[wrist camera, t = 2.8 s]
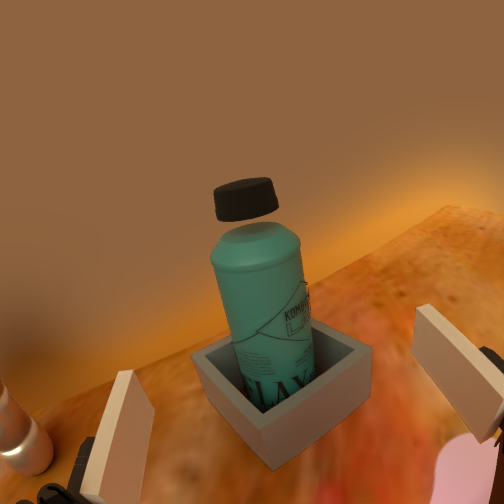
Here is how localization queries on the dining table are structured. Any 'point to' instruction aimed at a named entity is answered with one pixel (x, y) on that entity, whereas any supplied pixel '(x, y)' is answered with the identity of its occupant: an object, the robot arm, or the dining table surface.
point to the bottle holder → (296, 406)
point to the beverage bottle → (263, 294)
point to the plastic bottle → (22, 438)
